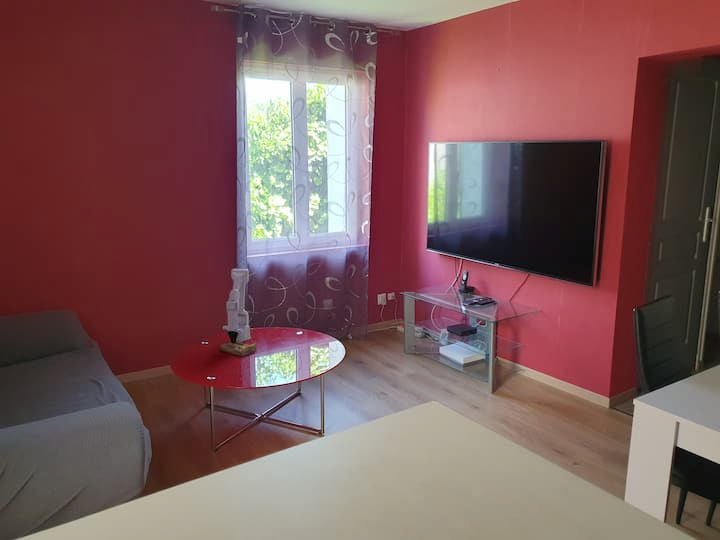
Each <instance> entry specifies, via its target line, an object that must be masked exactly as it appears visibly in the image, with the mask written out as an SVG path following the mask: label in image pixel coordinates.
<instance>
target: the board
mask: <svg viewBox="0 0 720 540" xmlns="http://www.w3.org/2000/svg"><path fill="white" fill-rule="evenodd" d="M241 346H245V347H244V348H242V349H240V347H241ZM219 351H223V352H226V353H229V354H233V355H237V356H241V357H244V356H248V355H250V354H253V353H254V352H257V343H256V342H255V343H253V344H247V343H243V342H238V341H236V343H234V344H232V343H231V341H230V342H227V343H226V342H225V343H222V344H221V345H219Z"/></svg>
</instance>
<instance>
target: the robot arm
mask: <svg viewBox="0 0 720 540" xmlns="http://www.w3.org/2000/svg"><path fill="white" fill-rule="evenodd" d="M249 270H250V269H248V268H232V269H231V271H230V272H231V273H230V274H231V275H230V276H231V278H232V281H233V285H232V290H230V292H229V296H228V297H229V298H228V300H227V301H226V304H225V307H226V308H225V309H226V314H227V325H223V326H222V330H224V331H227V332H226V334H227V335H228V336H229V337H228V338H229V340H230V342H231V343H232V344H234V343H236V342H240V343H243V342H245V341H249V340H250V339H252V337H251V327H250V325H249V323H250V317H249V315H250V314H249V312H248V311H246V310H245V303H246V302H245V298H246V286H247V285H246V284H247V283H249V282H250V271H249Z"/></svg>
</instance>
